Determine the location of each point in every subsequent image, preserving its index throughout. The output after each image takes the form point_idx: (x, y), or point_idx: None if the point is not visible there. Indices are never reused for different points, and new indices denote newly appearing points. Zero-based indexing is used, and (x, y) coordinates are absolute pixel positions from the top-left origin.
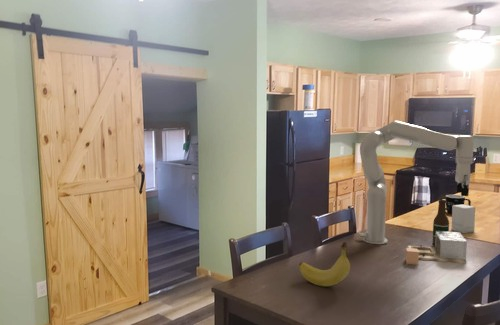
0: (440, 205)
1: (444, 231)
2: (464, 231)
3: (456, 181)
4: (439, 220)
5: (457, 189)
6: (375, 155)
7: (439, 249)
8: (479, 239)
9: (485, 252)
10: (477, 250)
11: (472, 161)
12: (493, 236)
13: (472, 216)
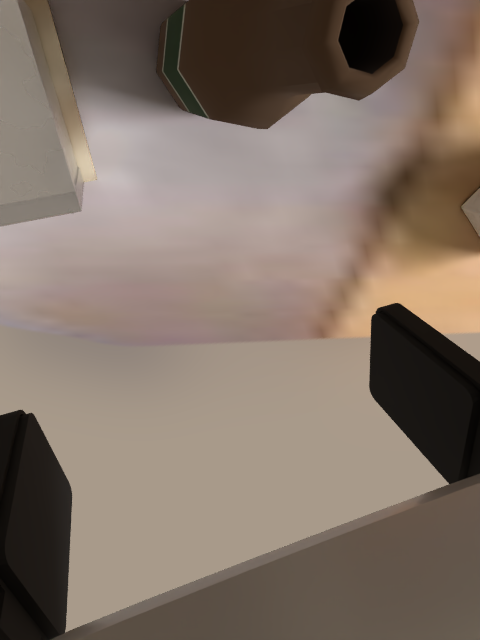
0: (295, 10)
1: (36, 79)
2: (469, 212)
3: (462, 481)
4: (199, 25)
5: (402, 339)
6: None
7: None
8: (368, 277)
9: (148, 307)
10: (167, 273)
11: None
12: None
13: None
